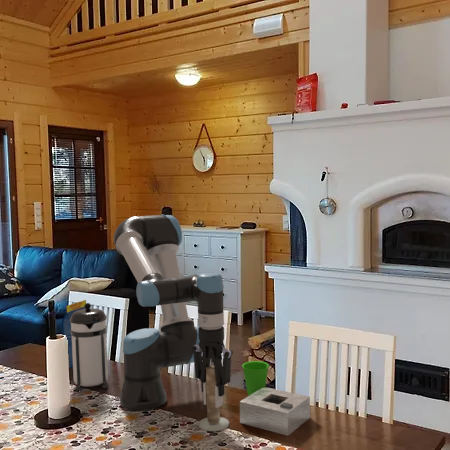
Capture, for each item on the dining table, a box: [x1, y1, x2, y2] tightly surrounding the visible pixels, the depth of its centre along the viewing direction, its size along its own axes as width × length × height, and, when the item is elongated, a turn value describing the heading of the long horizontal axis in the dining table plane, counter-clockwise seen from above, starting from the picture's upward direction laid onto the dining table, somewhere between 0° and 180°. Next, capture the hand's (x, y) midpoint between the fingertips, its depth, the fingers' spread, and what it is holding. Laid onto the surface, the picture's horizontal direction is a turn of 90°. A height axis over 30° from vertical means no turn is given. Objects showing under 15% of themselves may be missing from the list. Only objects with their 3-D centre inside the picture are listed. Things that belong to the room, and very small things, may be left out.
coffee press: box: [70, 302, 109, 393], centre depth 198 cm, size 17×16×30 cm
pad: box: [198, 416, 230, 432], centre depth 163 cm, size 9×9×1 cm
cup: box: [241, 360, 270, 397], centre depth 183 cm, size 9×9×11 cm
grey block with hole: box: [239, 386, 311, 437], centre depth 165 cm, size 16×14×7 cm
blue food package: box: [61, 299, 87, 369], centre depth 223 cm, size 6×12×25 cm, turn 156°
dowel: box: [206, 365, 221, 423], centre depth 163 cm, size 4×4×16 cm
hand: (213, 404), depth 163 cm, fingers closed on dowel, 3 cm apart
